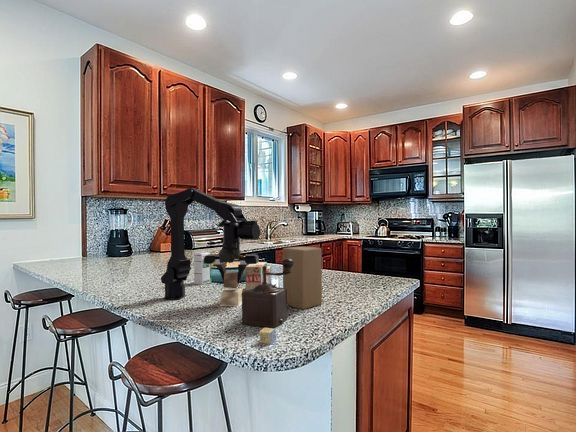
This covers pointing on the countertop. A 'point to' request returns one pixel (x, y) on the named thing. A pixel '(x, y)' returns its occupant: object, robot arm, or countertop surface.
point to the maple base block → (231, 297)
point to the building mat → (231, 305)
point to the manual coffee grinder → (266, 302)
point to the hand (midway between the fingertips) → (231, 283)
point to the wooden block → (303, 277)
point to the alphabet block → (267, 335)
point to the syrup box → (201, 269)
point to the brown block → (230, 279)
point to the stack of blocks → (256, 275)
